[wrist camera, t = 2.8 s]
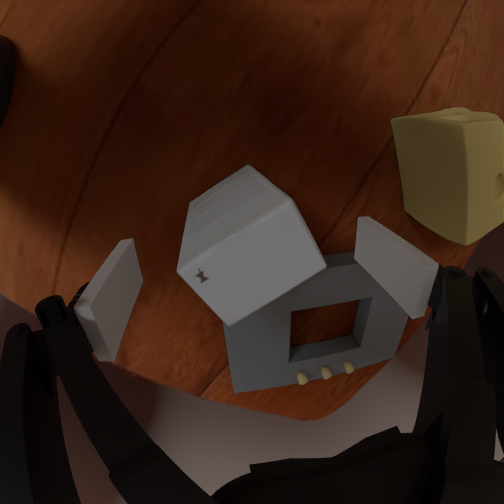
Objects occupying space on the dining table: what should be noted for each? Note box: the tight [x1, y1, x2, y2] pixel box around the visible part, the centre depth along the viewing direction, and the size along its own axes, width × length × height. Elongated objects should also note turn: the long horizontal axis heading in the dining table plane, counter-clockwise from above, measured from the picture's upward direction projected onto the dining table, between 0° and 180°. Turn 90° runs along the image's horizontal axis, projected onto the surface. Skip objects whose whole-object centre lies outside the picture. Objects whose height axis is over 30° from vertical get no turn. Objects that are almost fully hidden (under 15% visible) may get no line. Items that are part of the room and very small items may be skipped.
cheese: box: [391, 107, 504, 246], centre depth 19 cm, size 10×11×10 cm
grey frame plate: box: [223, 244, 426, 393], centre depth 28 cm, size 22×16×4 cm
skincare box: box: [177, 165, 327, 326], centre depth 18 cm, size 6×4×12 cm
